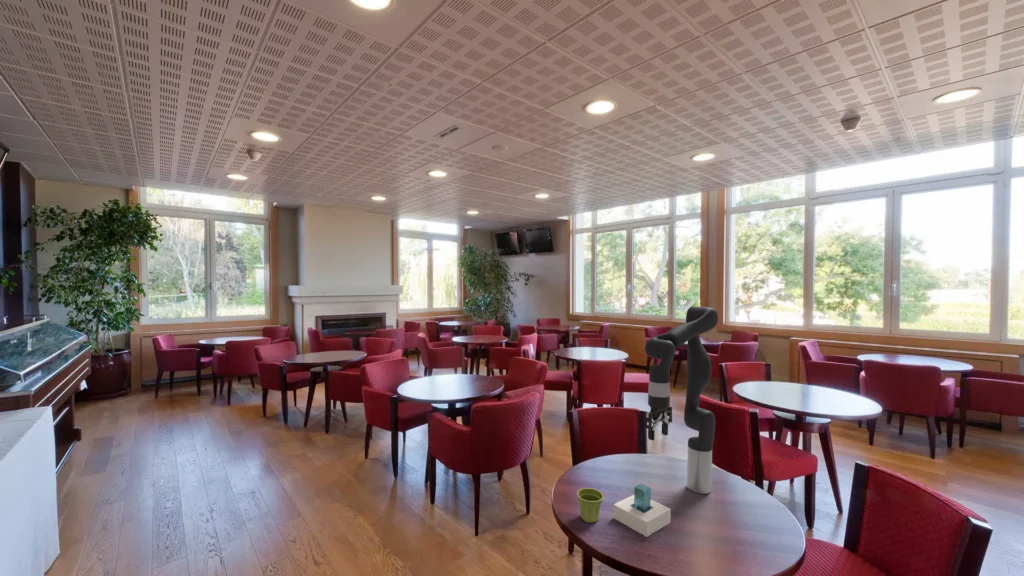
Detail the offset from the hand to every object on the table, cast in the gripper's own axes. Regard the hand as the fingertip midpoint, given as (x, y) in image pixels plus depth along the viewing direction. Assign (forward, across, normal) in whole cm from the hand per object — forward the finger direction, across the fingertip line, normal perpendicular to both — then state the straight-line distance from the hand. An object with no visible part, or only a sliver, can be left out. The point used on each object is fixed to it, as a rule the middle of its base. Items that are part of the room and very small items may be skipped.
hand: (658, 437), depth 157 cm
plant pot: (+28, +23, -12) cm, 38 cm away
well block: (+28, +9, 0) cm, 30 cm away
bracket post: (+28, +9, 0) cm, 29 cm away
